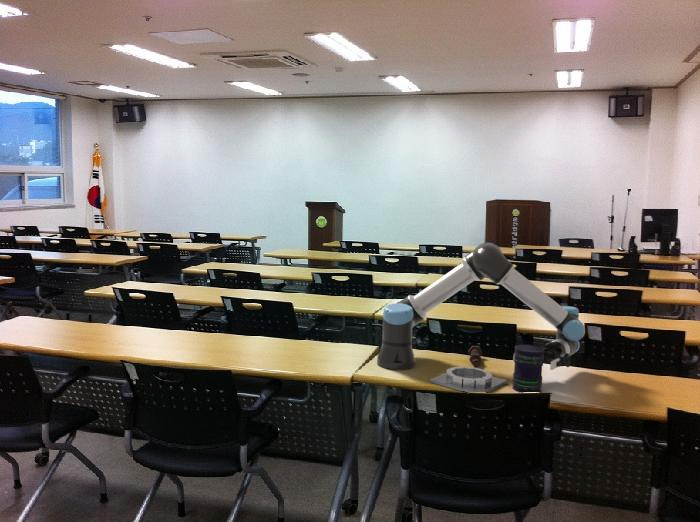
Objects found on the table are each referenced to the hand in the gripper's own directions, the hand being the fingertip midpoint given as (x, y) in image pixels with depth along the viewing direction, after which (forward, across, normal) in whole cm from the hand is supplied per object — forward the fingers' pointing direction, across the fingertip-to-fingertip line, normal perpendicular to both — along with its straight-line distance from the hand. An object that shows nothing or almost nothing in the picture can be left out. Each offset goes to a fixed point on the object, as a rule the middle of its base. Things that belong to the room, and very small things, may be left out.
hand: (532, 361), depth 200 cm
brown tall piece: (-15, +31, -10) cm, 36 cm away
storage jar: (+2, +1, -10) cm, 10 cm away
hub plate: (+11, +19, -10) cm, 24 cm away
